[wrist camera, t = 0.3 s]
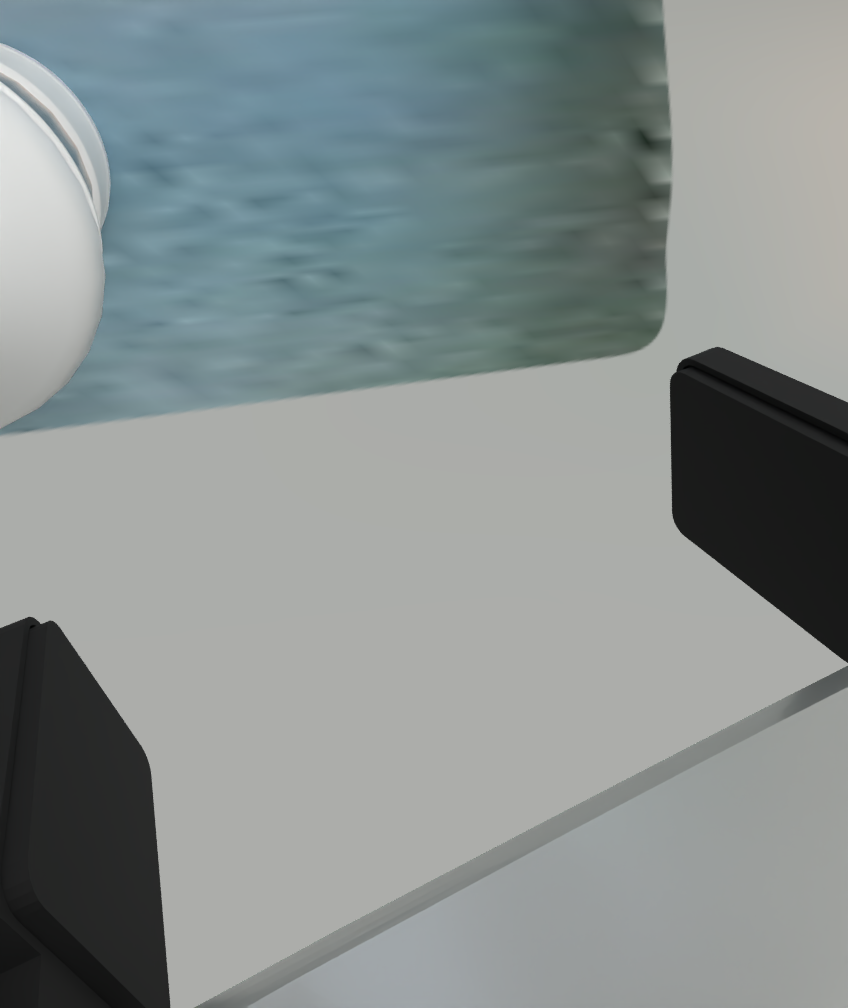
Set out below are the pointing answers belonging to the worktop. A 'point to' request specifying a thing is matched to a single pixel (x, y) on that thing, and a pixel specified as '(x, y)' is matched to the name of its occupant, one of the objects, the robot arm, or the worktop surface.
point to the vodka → (46, 233)
